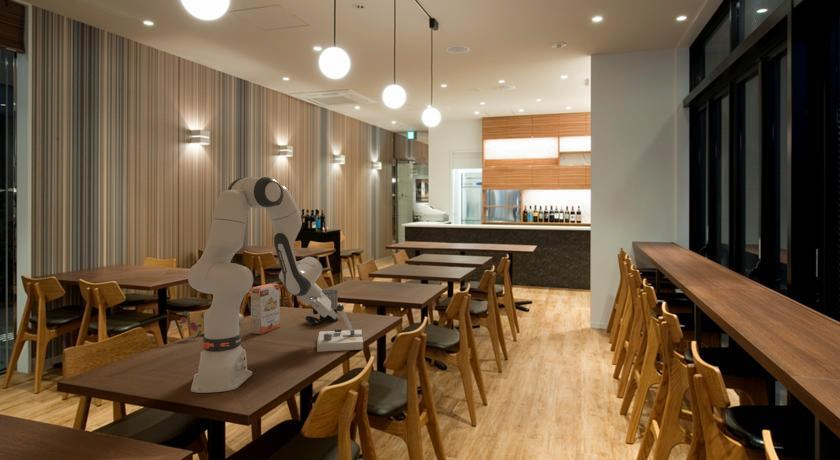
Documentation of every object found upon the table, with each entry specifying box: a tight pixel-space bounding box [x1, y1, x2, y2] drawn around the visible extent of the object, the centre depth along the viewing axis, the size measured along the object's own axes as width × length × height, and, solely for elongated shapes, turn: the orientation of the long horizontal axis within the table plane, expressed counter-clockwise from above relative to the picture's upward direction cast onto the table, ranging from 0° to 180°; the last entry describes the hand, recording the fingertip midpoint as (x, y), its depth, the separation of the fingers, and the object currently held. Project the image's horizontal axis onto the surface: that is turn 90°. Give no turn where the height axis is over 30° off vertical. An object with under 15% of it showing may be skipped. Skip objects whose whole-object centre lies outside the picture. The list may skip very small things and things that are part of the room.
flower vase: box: [177, 311, 244, 337], centre depth 238 cm, size 12×12×35 cm
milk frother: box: [305, 289, 339, 326], centre depth 255 cm, size 14×16×15 cm
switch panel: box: [316, 329, 364, 352], centre depth 216 cm, size 20×18×3 cm
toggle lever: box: [336, 303, 355, 335], centre depth 216 cm, size 3×3×14 cm
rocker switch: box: [333, 328, 342, 332], centre depth 220 cm, size 4×3×1 cm, turn 8°
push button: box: [324, 333, 332, 340], centre depth 211 cm, size 3×3×2 cm
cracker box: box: [250, 283, 281, 335], centre depth 239 cm, size 14×6×21 cm, turn 159°
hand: (336, 317), depth 216 cm, fingers closed
